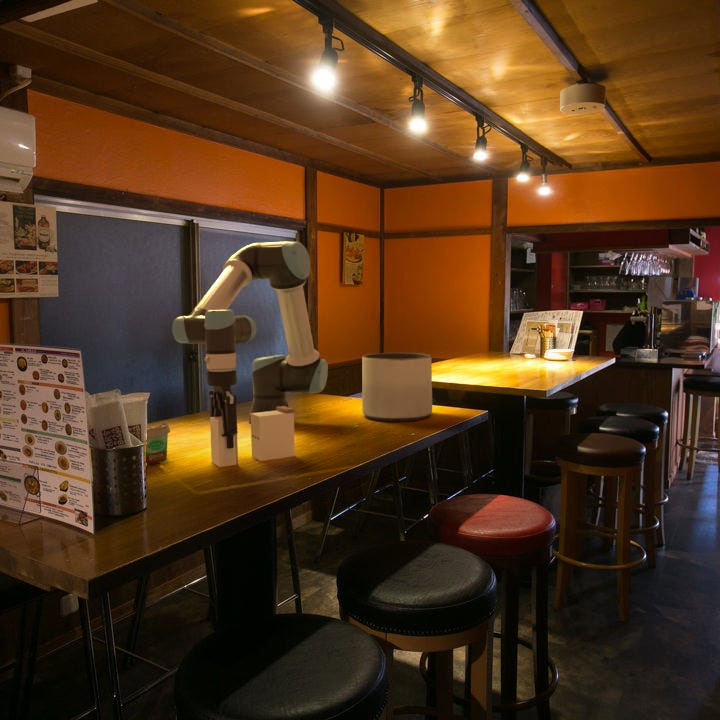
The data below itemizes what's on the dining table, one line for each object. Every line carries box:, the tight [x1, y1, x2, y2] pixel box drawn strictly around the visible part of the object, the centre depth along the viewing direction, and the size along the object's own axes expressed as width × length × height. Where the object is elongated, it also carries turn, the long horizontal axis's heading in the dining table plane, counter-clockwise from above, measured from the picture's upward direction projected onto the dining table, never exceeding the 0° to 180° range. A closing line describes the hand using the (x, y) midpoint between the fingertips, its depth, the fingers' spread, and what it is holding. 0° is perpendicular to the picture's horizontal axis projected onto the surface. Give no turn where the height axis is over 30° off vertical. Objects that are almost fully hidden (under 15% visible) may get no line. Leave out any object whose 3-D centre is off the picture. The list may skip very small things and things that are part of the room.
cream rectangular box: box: [250, 406, 296, 462], centre depth 181 cm, size 6×10×13 cm, turn 122°
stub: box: [209, 416, 239, 468], centre depth 174 cm, size 6×5×12 cm
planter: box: [361, 352, 433, 422], centre depth 242 cm, size 25×25×22 cm
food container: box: [146, 421, 171, 467], centre depth 178 cm, size 12×6×10 cm, turn 148°
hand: (224, 457), depth 174 cm, fingers closed on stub, 6 cm apart
